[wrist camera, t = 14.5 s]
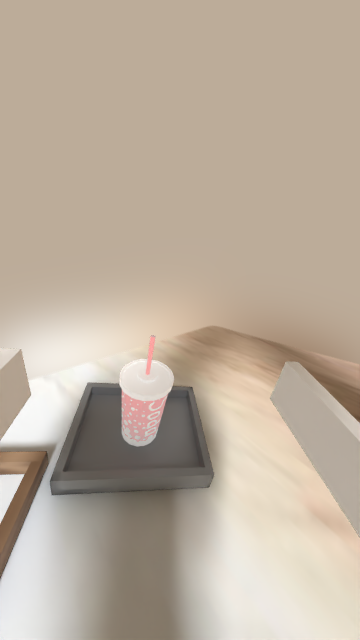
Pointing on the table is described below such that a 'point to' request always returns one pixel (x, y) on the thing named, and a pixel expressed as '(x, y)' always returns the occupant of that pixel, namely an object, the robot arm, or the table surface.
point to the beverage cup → (144, 397)
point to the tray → (132, 447)
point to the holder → (19, 495)
